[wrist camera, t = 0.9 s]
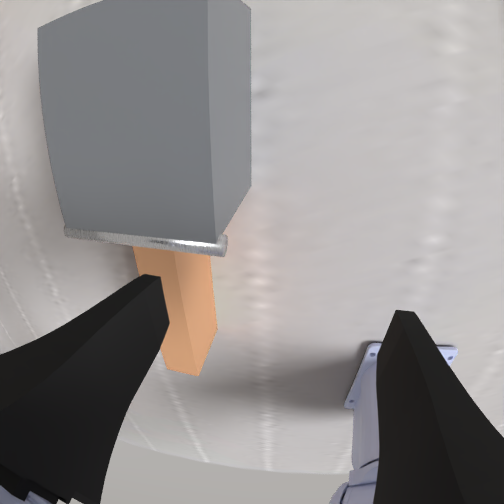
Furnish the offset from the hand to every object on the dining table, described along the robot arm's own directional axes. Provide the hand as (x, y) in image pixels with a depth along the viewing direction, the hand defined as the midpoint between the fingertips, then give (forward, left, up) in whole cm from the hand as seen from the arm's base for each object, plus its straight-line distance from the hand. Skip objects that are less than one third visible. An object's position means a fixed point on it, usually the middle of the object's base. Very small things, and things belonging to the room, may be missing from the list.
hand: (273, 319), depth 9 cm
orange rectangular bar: (-4, +7, -10) cm, 13 cm away
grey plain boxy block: (+5, +7, -10) cm, 13 cm away
